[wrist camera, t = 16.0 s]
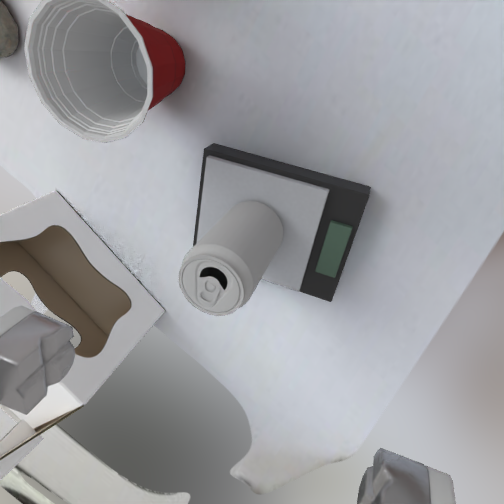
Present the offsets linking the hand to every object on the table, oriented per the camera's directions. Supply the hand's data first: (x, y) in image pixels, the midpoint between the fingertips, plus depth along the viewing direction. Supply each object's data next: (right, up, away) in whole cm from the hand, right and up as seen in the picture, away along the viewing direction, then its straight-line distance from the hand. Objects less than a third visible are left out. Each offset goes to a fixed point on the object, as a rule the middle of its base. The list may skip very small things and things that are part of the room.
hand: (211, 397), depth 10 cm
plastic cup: (-8, +23, +30) cm, 39 cm away
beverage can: (+1, +6, +32) cm, 33 cm away
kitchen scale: (+4, +7, +34) cm, 35 cm away
